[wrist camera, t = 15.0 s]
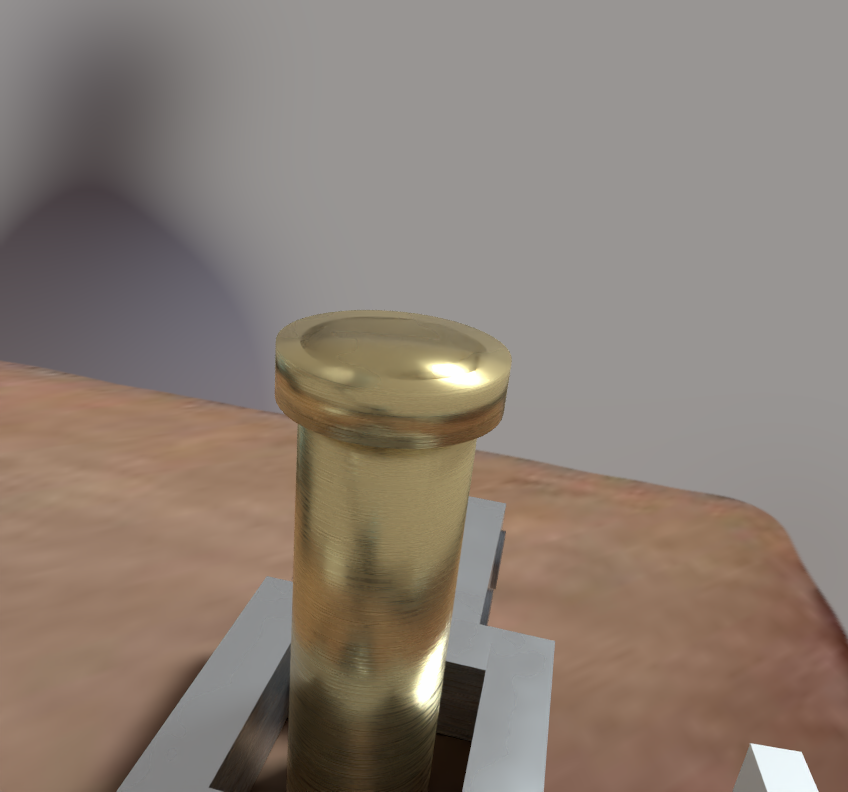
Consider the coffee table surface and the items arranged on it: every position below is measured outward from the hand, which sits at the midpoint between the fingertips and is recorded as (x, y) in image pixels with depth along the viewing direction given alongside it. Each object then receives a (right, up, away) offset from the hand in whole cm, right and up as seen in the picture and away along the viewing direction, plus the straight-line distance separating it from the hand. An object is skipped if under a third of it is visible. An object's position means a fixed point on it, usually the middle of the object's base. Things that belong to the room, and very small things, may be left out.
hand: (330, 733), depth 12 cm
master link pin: (0, -6, +9) cm, 11 cm away
